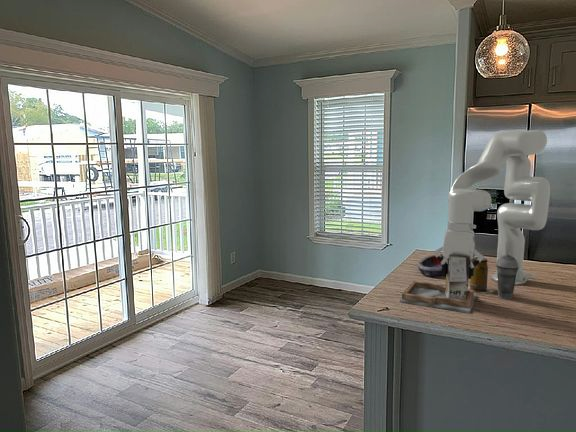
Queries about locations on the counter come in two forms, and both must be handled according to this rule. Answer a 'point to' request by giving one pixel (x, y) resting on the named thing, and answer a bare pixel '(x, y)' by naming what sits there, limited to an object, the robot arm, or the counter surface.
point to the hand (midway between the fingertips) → (457, 276)
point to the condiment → (480, 278)
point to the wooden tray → (436, 297)
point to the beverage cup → (506, 275)
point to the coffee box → (457, 277)
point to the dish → (430, 265)
